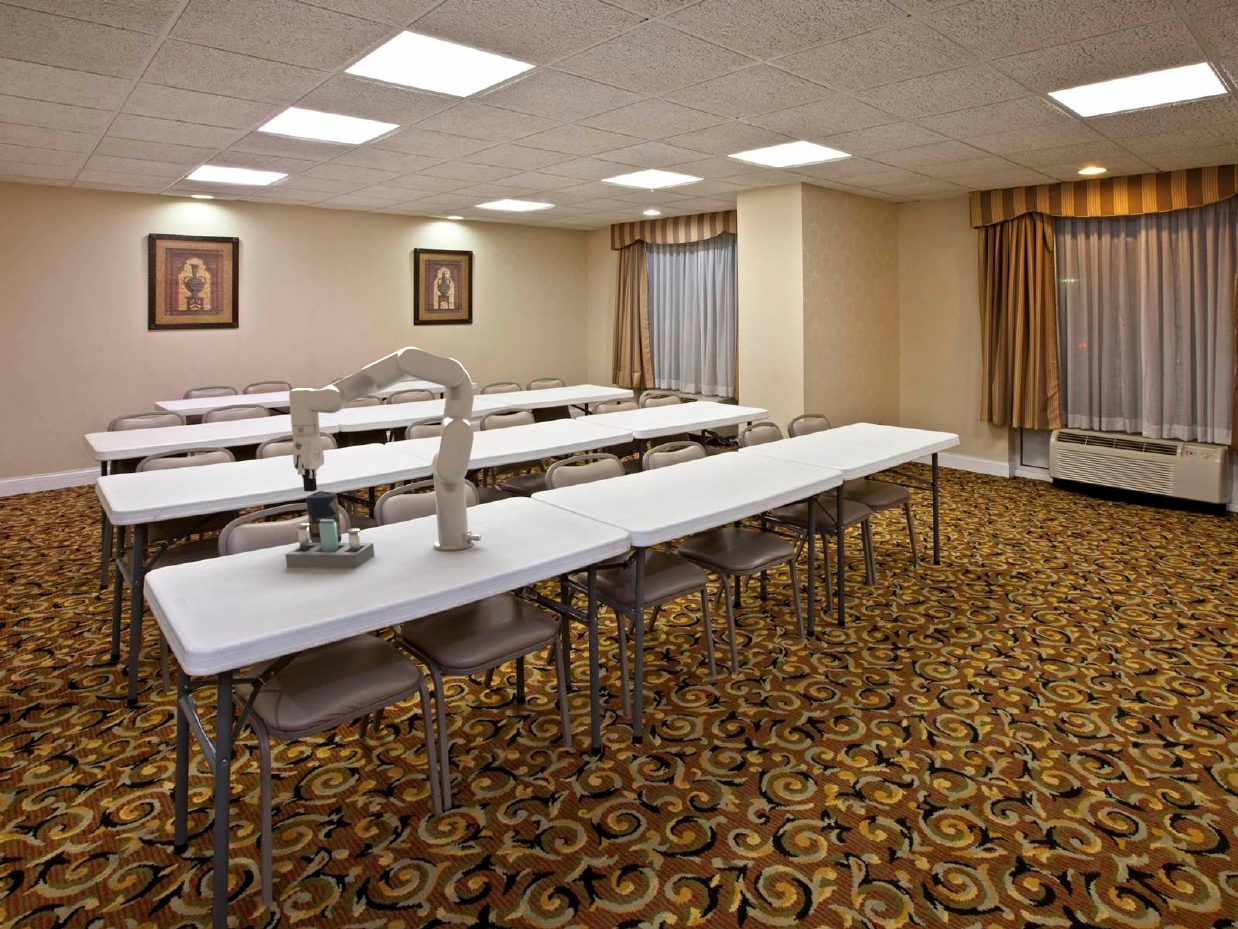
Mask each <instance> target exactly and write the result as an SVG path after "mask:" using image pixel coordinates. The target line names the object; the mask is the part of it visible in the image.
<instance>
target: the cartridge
mask: <svg viewBox="0 0 1238 929" xmlns="http://www.w3.org/2000/svg"><path fill="white" fill-rule="evenodd" d="M319 528H320V537H321V547H322V552H336V551H338V550H339V547H338V537H337V527H336V522H335V520H320V524H319Z"/></svg>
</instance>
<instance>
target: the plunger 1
mask: <svg viewBox="0 0 1238 929" xmlns="http://www.w3.org/2000/svg"><path fill="white" fill-rule="evenodd" d="M309 526H310V524H309V522H300V523H297V524H295V528H297V532H298V534H297V535H298V543H299V546H300V552H306V551H308V550H310V549H311V547H310V543H311V536H310V530H309Z"/></svg>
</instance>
